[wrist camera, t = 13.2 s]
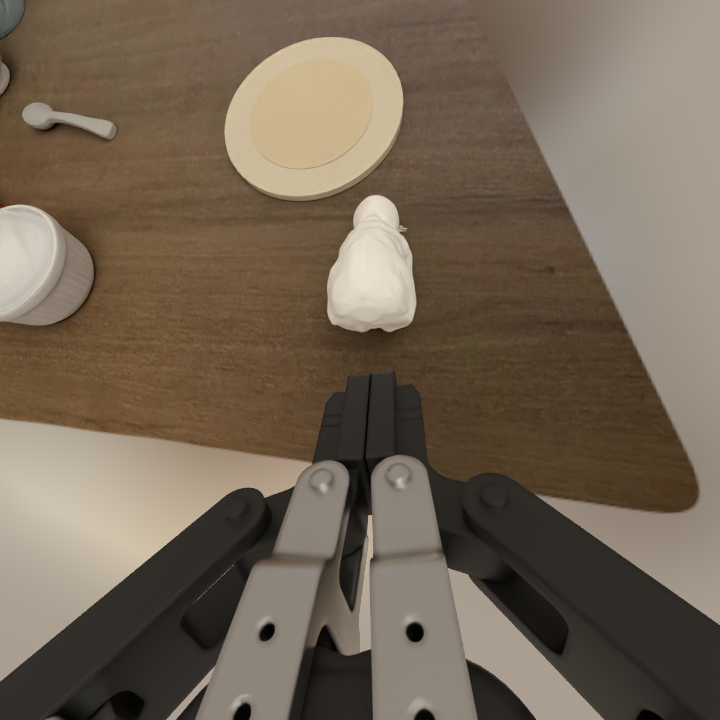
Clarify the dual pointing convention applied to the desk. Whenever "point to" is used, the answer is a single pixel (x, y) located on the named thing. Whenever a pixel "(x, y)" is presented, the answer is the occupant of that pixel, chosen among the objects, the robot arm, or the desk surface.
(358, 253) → the white animal figurine
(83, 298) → the ramekin
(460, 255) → the desk surface
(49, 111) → the spoon
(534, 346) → the desk surface
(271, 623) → the robot arm
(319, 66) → the plate
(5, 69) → the flower vase
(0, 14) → the drinking glass
